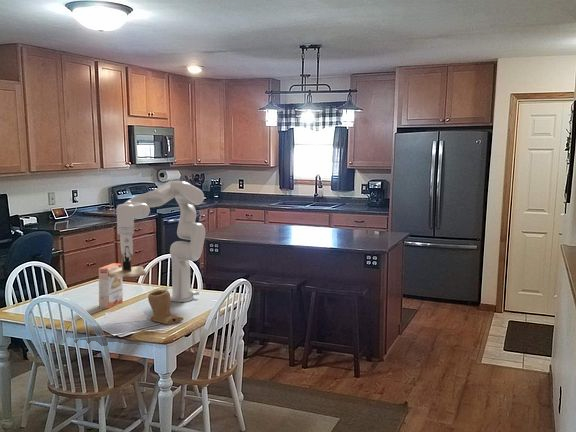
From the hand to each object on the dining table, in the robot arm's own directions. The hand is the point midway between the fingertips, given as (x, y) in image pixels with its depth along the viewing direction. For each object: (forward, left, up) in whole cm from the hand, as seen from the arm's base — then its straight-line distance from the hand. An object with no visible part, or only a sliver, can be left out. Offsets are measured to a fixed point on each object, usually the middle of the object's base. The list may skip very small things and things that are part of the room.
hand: (126, 268), depth 249 cm
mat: (+1, -1, -24) cm, 24 cm away
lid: (0, 0, -2) cm, 2 cm away
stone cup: (-15, +12, -24) cm, 31 cm away
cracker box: (+6, -24, -24) cm, 34 cm away
